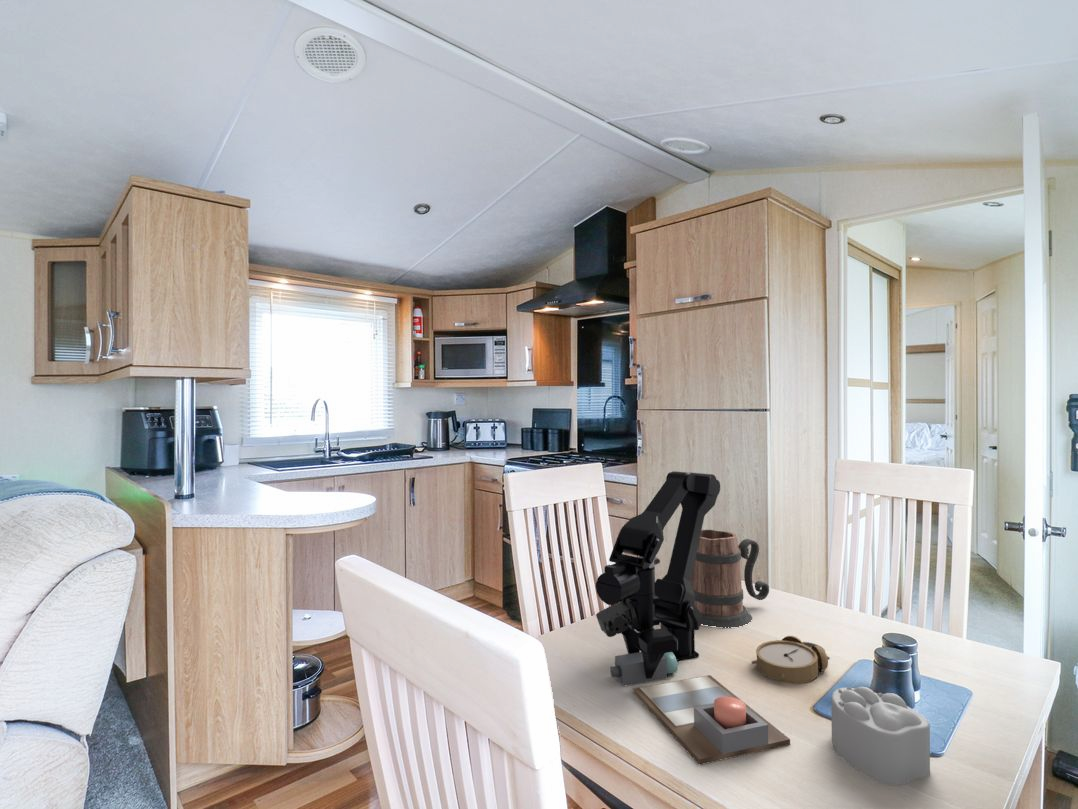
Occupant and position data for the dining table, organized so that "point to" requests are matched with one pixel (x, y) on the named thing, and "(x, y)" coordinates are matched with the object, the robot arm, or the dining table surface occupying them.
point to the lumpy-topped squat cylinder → (880, 735)
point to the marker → (641, 668)
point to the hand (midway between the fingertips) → (641, 670)
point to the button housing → (731, 730)
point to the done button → (729, 712)
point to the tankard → (724, 579)
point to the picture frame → (677, 715)
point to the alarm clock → (791, 660)
